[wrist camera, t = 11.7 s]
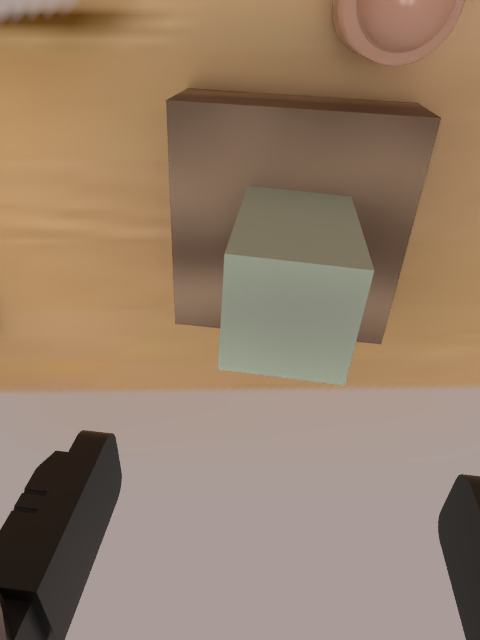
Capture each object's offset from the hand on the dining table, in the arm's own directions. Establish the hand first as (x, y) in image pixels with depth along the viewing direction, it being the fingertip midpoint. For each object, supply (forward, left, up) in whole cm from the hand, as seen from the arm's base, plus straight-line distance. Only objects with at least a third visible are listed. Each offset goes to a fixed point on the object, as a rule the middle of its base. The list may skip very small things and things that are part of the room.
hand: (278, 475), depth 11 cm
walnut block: (0, 0, -20) cm, 20 cm away
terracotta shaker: (-10, +3, -19) cm, 22 cm away
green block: (0, 0, -15) cm, 15 cm away
